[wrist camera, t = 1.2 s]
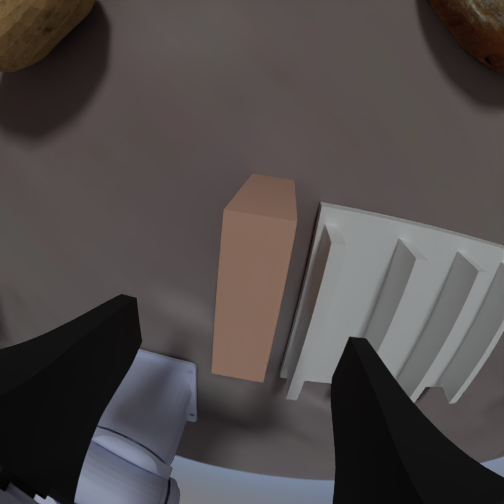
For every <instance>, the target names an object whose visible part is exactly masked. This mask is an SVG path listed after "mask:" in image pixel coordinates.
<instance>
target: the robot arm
mask: <svg viewBox="0 0 504 504" xmlns="http://www.w3.org/2000/svg"><path fill="white" fill-rule="evenodd" d="M141 343H142V338H141V331H140V323H139V315H138V307H137V298H135V297H131V296H127V295H123V294H121V295H119V296H116V297H114V298H112V299H111V300H109V301H107V302H105V303H103V304H101V305H99V306H98V307H96V308H94V309H92V310H90V311H89V312H87V313H85V314H83V315H81V316H79V317H77V318H76V319H74V320H72V321H70V322H68V323H66V324H64V325H62V326H60V327H58V328H56V329H54V330H52V331H50V332H48V333H45V334H43V335H41V336H38V337H36V338H33V339H31V340H28V341H26V342H23V343H20V344H17V345H14V346H10V347H7V348H3V349H0V504H179V501H180V490H179V488H178V486H177V482H176V481H175V479H173V478H171V477H170V474H171V471H172V467H170V464H171V463H172V461H173V459H174V457H175V454H176V451H177V448H178V445H179V442H180V439H181V436H182V433H183V430H184V428H185V425H186V422H187V421H191V422H196V421H197V366H196V365H195V364H194V363H192V362H188V361H184V360H180V359H176V358H172V357H168V356H164V355H160V354H157V353H153V352H149V351H146V350H142V349H139V348H140V345H141ZM331 410H332V422H333V433H334V446H335V465H336V469H335V485H334V495H333V504H504V477H502V476H500V475H498V474H496V473H495V472H493V471H491V470H489V469H488V468H486V467H484V466H483V465H481V464H480V463H478V462H477V461H475V460H474V459H473V458H471V457H470V456H468V455H467V454H466V453H464V452H463V451H462V450H461V449H459V448H458V447H457V446H456V445H455V444H453V443H452V442H451V441H450V440H449V439H448V438H447V437H445V436H444V435H443V434H442V433H441V432H440V431H439V430H438V429H437V428H436V427H435V426H434V425H433V424H432V423H431V422H430V421H429V420H428V419H427V418H426V416H425V415H424V414H423V413H422V412H421V411H420V410H419V409H418V407H417V406H416V405H415V404H414V403H413V401H412V400H411V399H410V398H409V396H408V395H407V394H406V393H405V391H404V390H403V389H402V387H401V386H400V385H399V383H398V382H397V381H396V379H395V378H394V377H393V375H392V374H391V372H390V371H389V370H388V368H387V367H386V365H385V364H384V363H383V361H382V360H381V358H380V357H379V355H378V354H377V353H376V351H375V350H374V348H373V347H372V345H371V344H370V343H369V341H368V340H367V339H366V338H359V337H350V336H349V338H348V341H347V343H346V346H345V348H344V351H343V353H342V355H341V358H340V360H339V362H338V365H337V367H336V369H335V371H334V374H333V376H332V383H331ZM34 498H35V500H36V501H35V500H34Z"/></svg>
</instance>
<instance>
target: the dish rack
mask: <svg viewBox="0 0 504 504" xmlns="http://www.w3.org/2000/svg"><path fill="white" fill-rule="evenodd" d="M503 331H504V246H503V245H500V244H496V243H493V242H490V241H486V240H483V239H479V238H476V237H472V236H469V235H465V234H461V233H458V232H454V231H450V230H446V229H442V228H439V227H435V226H431V225H427V224H423V223H418V222H414V221H410V220H406V219H402V218H397V217H393V216H388V215H384V214H379V213H375V212H370V211H365V210H360V209H355V208H350V207H345V206H340V205H335V204H330V203H325V202H320V205H319V211H318V216H317V220H316V225H315V230H314V235H313V240H312V244H311V249H310V253H309V258H308V262H307V267H306V271H305V276H304V280H303V284H302V288H301V293H300V297H299V301H298V305H297V309H296V313H295V317H294V321H293V325H292V329H291V332H290V336H289V340H288V344H287V348H286V351H285V355H284V359H283V362H282V366H281V371H280V378H287V386H286V399H289V400H297V398H298V396H299V393H300V391H301V388H302V385H303V383H304V381H312V382H322V383H332V376H333V374H334V371H335V369H336V367H337V365H338V362H339V360H340V358H341V355H342V353H343V351H344V348H345V346H346V343H347V341H348V338H349V336H350V337H359V338H366V339H367V340H368V341H369V343H370V344H371V345H372V347H373V348H374V350H375V351H376V353H377V354H378V355H379V357H380V358H381V360H382V361H383V363H384V364H385V365H386V367H387V368H388V370H389V371H390V372H391V374H392V375H393V377H394V378H395V379H396V381H397V382H398V383H399V385H400V386H401V387H402V389H403V390H404V391H405V393H406V394H407V395H408V396H409V398H410V399H411V400H412V401H413V403H414V402H415V401H416V400H417V398H418V397H419V396H420V394H421V393H422V391H423V390H424V388H425V387H443V390H444V392H445V395H446V397H447V400H448V402H449V403H456V401H457V400H458V399H459V398H460V396H461V395H462V394H463V392H464V391H465V390H466V388H467V387H468V386H469V384H470V383H471V382H472V380H473V379H474V377H475V376H476V374H477V373H478V372H479V370H480V369H481V367H482V366H483V364H484V363H485V361H486V360H487V358H488V356H489V355H490V353H491V352H492V350H493V348H494V347H495V345H496V343H497V342H498V340H499V338H500V337H501V335H502V333H503Z"/></svg>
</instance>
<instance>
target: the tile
mask: <svg viewBox="0 0 504 504" xmlns="http://www.w3.org/2000/svg"><path fill="white" fill-rule="evenodd" d="M296 225H297V210H296V196H295V183H294V180H289V179H283V178H277V177H270V176H264V175H257V174H252V175H251V176H250V177H249V179H248V180H247V181H246V182H245V184H244V185H243V186H242V187H241V189H240V190H239V191H238V192H237V194H236V195H235V196H234V198H233V199H232V200H231V201H230V203H229V204H228V205H227V206H226V208H225V209H224V213H223V224H222V235H221V246H220V258H219V270H218V282H217V295H216V309H215V324H214V339H213V356H212V373H214V374H219V375H224V376H229V377H234V378H240V379H245V380H251V381H257V382H263V381H264V377H265V372H266V368H267V364H268V360H269V355H270V351H271V347H272V342H273V338H274V333H275V329H276V324H277V320H278V315H279V310H280V306H281V301H282V296H283V291H284V287H285V282H286V277H287V272H288V267H289V262H290V257H291V252H292V247H293V241H294V236H295V231H296Z"/></svg>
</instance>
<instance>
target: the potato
mask: <svg viewBox="0 0 504 504" xmlns="http://www.w3.org/2000/svg"><path fill="white" fill-rule="evenodd" d="M95 1H96V0H0V72H11V73H13V72H16V71H18V70H20V69H23V68H25V67H28V66H31V65H33V64H36V63H37V62H38V61H40V60H41V59H43V58H44V57H46V56H47V55H48V54H49V53H50V51H51V50H52V49H53V48H54V47H55V46H56V45H57V44H58V43H59V42H60V41H61V40H62V39H63V38H64V37H65V36H66V35H67V34H68V33H69V32H70V31H71V30H72V29H73V28H74V27H76V26H77V25H78V24H79V23H80V22H81V21H82V20H83V19H84V18H85V17H86V16H87V15H88V14H89V13H90V11H91V9H92V7H93V5H94V3H95Z"/></svg>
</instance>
